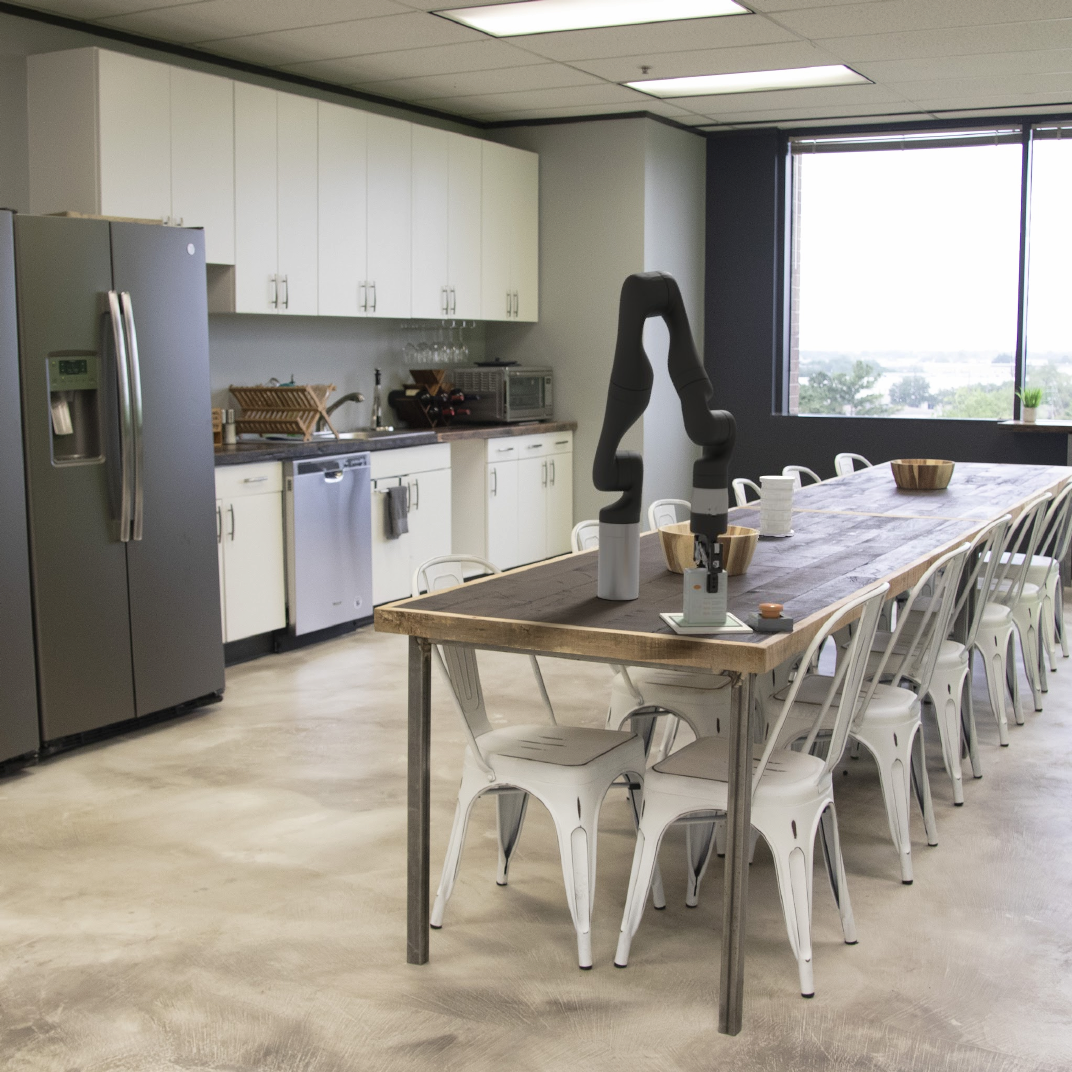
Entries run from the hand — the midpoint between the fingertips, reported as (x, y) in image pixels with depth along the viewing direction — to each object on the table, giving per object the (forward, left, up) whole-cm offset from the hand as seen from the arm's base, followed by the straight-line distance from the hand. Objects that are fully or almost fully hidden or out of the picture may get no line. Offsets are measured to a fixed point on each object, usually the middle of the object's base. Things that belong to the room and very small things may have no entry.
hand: (706, 588), depth 259 cm
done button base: (+4, +12, -7) cm, 15 cm away
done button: (+4, +12, -6) cm, 14 cm away
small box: (0, 0, -7) cm, 7 cm away
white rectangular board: (0, 0, -7) cm, 7 cm away
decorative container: (-133, +55, -8) cm, 145 cm away
